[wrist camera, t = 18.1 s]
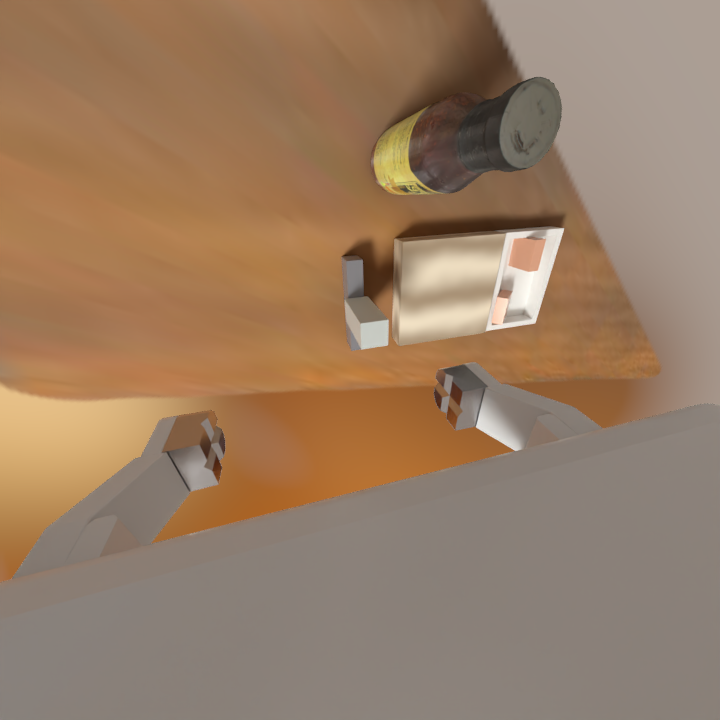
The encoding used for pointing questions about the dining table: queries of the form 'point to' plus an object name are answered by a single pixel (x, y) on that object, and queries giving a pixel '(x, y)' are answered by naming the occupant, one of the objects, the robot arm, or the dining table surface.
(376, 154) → the sauce bottle
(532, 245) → the tile
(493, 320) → the tile
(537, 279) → the tray
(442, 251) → the birch board
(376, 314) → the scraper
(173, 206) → the dining table surface
